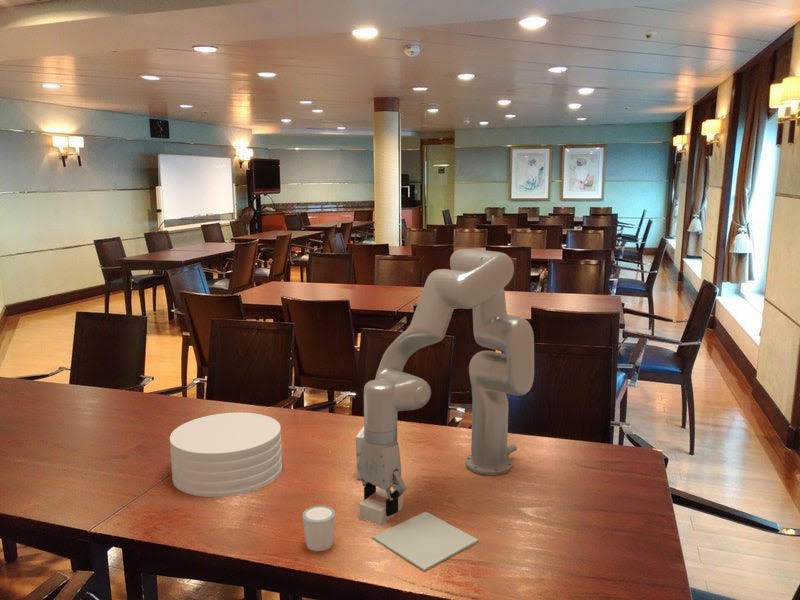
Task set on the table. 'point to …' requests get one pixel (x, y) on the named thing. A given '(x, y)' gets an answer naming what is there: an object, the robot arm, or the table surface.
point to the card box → (376, 507)
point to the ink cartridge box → (358, 446)
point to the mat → (425, 540)
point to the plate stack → (226, 454)
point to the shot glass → (319, 527)
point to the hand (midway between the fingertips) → (380, 507)
